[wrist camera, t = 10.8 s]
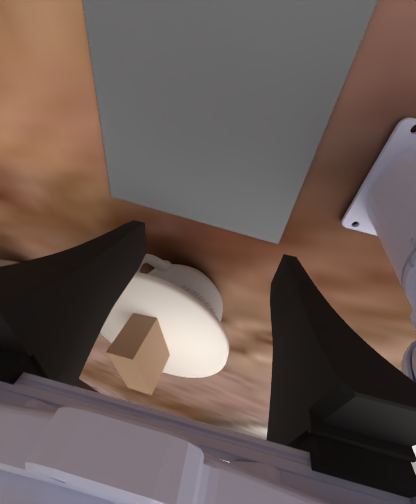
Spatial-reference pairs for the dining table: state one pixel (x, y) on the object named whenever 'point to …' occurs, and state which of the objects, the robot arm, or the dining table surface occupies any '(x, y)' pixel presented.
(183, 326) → the lid
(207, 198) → the mat
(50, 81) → the dining table surface
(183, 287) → the teacup
